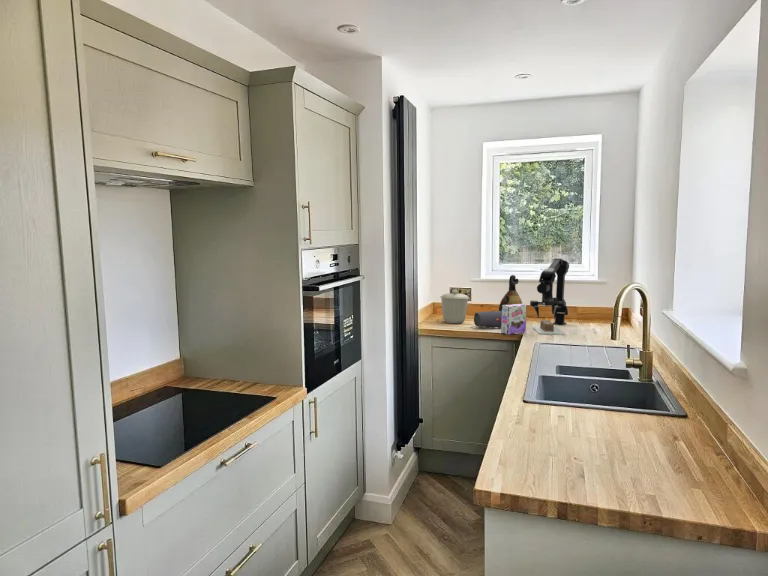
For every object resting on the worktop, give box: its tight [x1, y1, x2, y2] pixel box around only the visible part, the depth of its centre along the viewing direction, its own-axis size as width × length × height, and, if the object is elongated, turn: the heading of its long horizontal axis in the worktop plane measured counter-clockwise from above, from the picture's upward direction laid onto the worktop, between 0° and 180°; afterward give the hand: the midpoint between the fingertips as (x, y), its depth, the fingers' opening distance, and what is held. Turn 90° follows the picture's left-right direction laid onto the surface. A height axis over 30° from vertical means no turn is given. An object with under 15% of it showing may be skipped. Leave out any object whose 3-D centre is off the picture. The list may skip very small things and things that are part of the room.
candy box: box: [500, 304, 527, 335], centre depth 302 cm, size 14×6×16 cm, turn 117°
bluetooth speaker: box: [473, 310, 502, 329], centre depth 319 cm, size 23×9×10 cm, turn 106°
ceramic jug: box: [498, 274, 524, 311], centre depth 341 cm, size 17×15×30 cm
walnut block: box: [539, 319, 555, 332], centre depth 310 cm, size 4×5×13 cm
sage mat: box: [531, 325, 565, 336], centre depth 310 cm, size 22×14×1 cm, turn 174°
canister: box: [439, 289, 470, 325], centre depth 335 cm, size 18×18×21 cm
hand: (546, 318), depth 313 cm, fingers open, 9 cm apart
